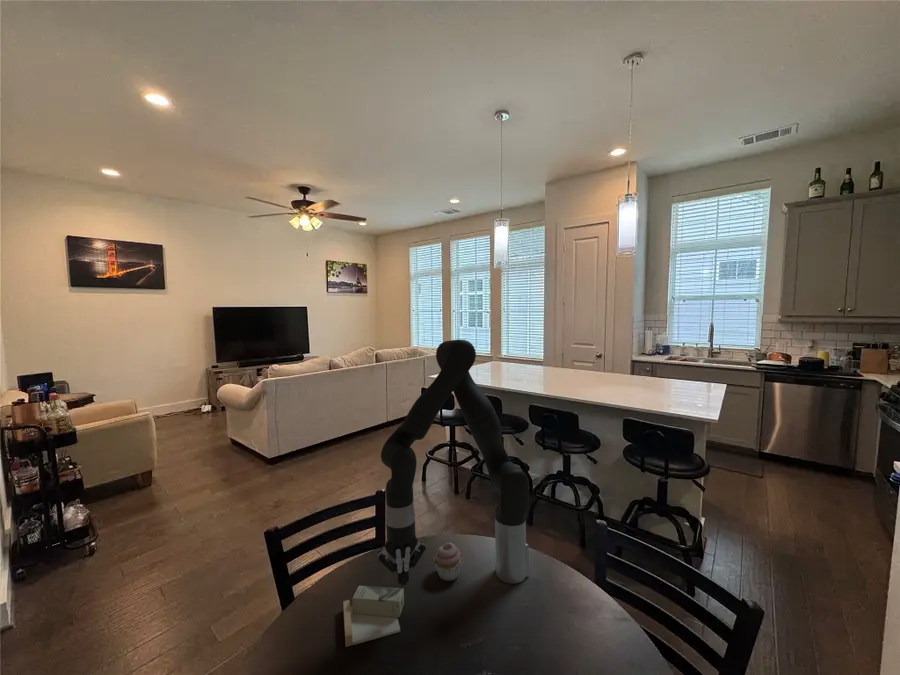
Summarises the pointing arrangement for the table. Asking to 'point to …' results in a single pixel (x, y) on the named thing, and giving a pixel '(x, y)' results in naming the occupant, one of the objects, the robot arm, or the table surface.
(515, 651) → the table surface
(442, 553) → the cupcake
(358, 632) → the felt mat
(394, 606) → the box
